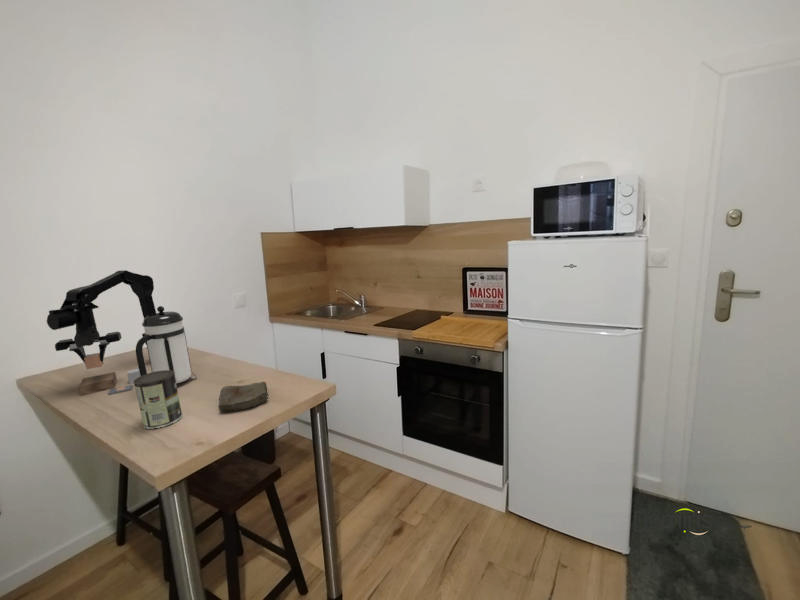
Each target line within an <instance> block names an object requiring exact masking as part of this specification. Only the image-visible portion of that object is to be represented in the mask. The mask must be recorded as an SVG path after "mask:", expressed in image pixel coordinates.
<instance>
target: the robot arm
mask: <svg viewBox="0 0 800 600" xmlns="http://www.w3.org/2000/svg"><path fill="white" fill-rule="evenodd" d="M121 283H123V284H125V285H128V286H130V288H131V290H132V292H133V293H134V294H135V295H136V296H137V298H138V301H139V305H140V309H141V313H142V317H143V320H144V319H145V318H146V317H147V316H149V315H151V314H155V313H157V309H156V306H155V303H154V299H153V293H154V289H155V286H154V280H153V277H151V276H150V275H143V274H139V273H136V272H135V273H134V272H131V271H129V270H116V271H115V272H114V273H112V274H109V275H107V276H105V277H104V278H102V279H99V280H97V281H95V282H93V283H91V284H88V285H84V286H79V287H75V288H73V289H69V290H68V291H67V292H66V295H65V299H64V300H63V302H62V304H61V306H60V308H58V309H51V310H48V315H47V318H46V324H47V326H48V327H49V328H50V330H53V331H56V330H61V329H64V328H65V329H66V328H68V327H73V326H75V335H74V337H73V338H68V339H67V338H66V339H61V340H59V341H57V342H56V343H55V344H54V349H55V351H56V352H59V351H65V350H68V351H69V352H74V353H75V354H77V355H78V357H79V358H80V359H81V360H82V362H83V363H84V364H85V360H84V357H85V356H86V355H87V354H86V351H85V347H86V346H87V347H89V346H90V347H91V346H92V345H94V343H99V344H98V348H99V353H100V359H101V362H104V359H105V354H106V349H107V347H108V345H110V344H111V343H115V342H119V341H121V339H122V333H121V332H119V331H112V332H108V333H107V334H105V335H100V333H99V331H98V328H97V323H96V319H95V315H94V309H99V305H96V304H95V303H93V302H94V301H95V300H97V298H98V297H99V296H100V294H102V293H104V292H106V291H108V290H110V289H112V288H113V287H116V286H118V285H119V284H121ZM141 336H142V337H144V336H145V332H143V333H141ZM144 344H145V346H147V344H146V342H145V343H144Z"/></svg>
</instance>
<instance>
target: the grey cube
mask: <svg viewBox="0 0 800 600" xmlns="http://www.w3.org/2000/svg"><path fill="white" fill-rule="evenodd" d="M126 374H127V379H128V383H129V385H134V380H135V379H136V378H138V377H140V376H141V375H140V371H139V368H134V369H128V371H127V373H126Z"/></svg>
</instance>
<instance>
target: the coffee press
mask: <svg viewBox="0 0 800 600" xmlns="http://www.w3.org/2000/svg"><path fill="white" fill-rule="evenodd" d="M183 320H184V317H183V316H181V314H180V313H179V312H178V311H165V307H164V306H161V305H160V306H157V309H156V313H155V314H151V315H149V316H147V317H146V318H145V319H144V318H143V321H142V323H141V326H142V327H143V330H144V333H145V336H144V337H143V336H142V337H140V338H139V340H138V341H137V343H136V345H135V356H136V361H137V367H138V369H139V371H140V375H141V376H143V375H145V374H148V372H147V368H146V363H145V362H146V361H145V357H144V352H143V347H144V344H145V345H146V344H147V345H146V348H147V354H148V359H149V363H150V368H151V373H153V372H157V371H164V370H171V371H174V372H175V380H176V385H177V384H180V383H182V382H186V381H187V380H189V379H191V380H193V379H194V378H193V377H195V380H196V379H197V375H196V374H194V372H193V371H192V366H191V365H192V364H191V359H190V354H189V348H188V345H187V344H188V342H187V338H186V333H185V332H186V330H185V327H184V324H183ZM145 342H146V343H145ZM192 375H193V377H191V376H192ZM177 386H178V385H177Z"/></svg>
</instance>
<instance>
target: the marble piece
mask: <svg viewBox="0 0 800 600" xmlns="http://www.w3.org/2000/svg"><path fill="white" fill-rule="evenodd" d="M267 386H268V385H267V383H266V381H261V382H255V383H251V384H244V385H226V386H223V387H222V388H221V390H220V391H219V397H218V401H219V402H218V409H219V412H220V413H221V414H222V412H223V413H226V411H229V412H236V411H235V410H237V411H240V410H246V409H249V408H254V407H257V406H259V405H260V404H259V403H261V402H263V401H265V400H267V399H268V400H269V393H268V394H267V390H268V387H267ZM267 396H268V397H267ZM265 402H266V401H265ZM263 403H264V402H263ZM258 404H259V405H258ZM261 404H262V403H261ZM256 405H257V406H256Z"/></svg>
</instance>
